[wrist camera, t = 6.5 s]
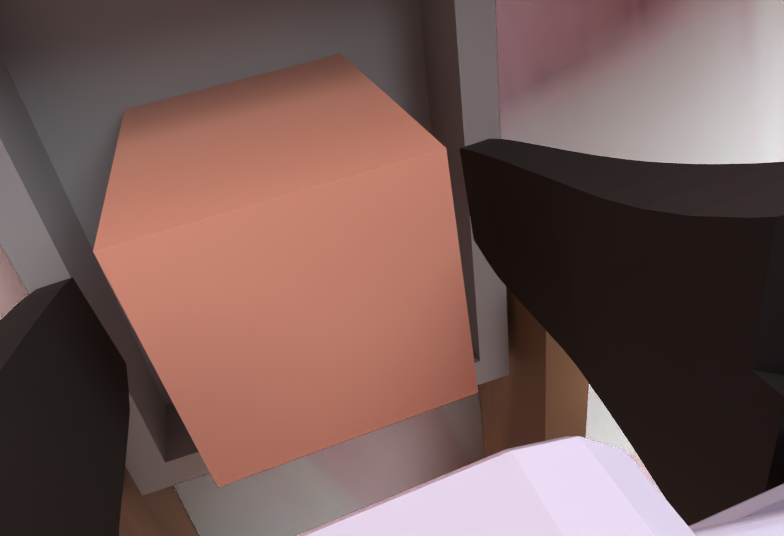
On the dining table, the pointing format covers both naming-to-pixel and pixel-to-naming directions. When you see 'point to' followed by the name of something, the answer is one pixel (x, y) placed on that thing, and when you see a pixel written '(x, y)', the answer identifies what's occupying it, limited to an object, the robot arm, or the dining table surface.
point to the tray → (196, 72)
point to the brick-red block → (288, 262)
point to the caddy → (498, 413)
